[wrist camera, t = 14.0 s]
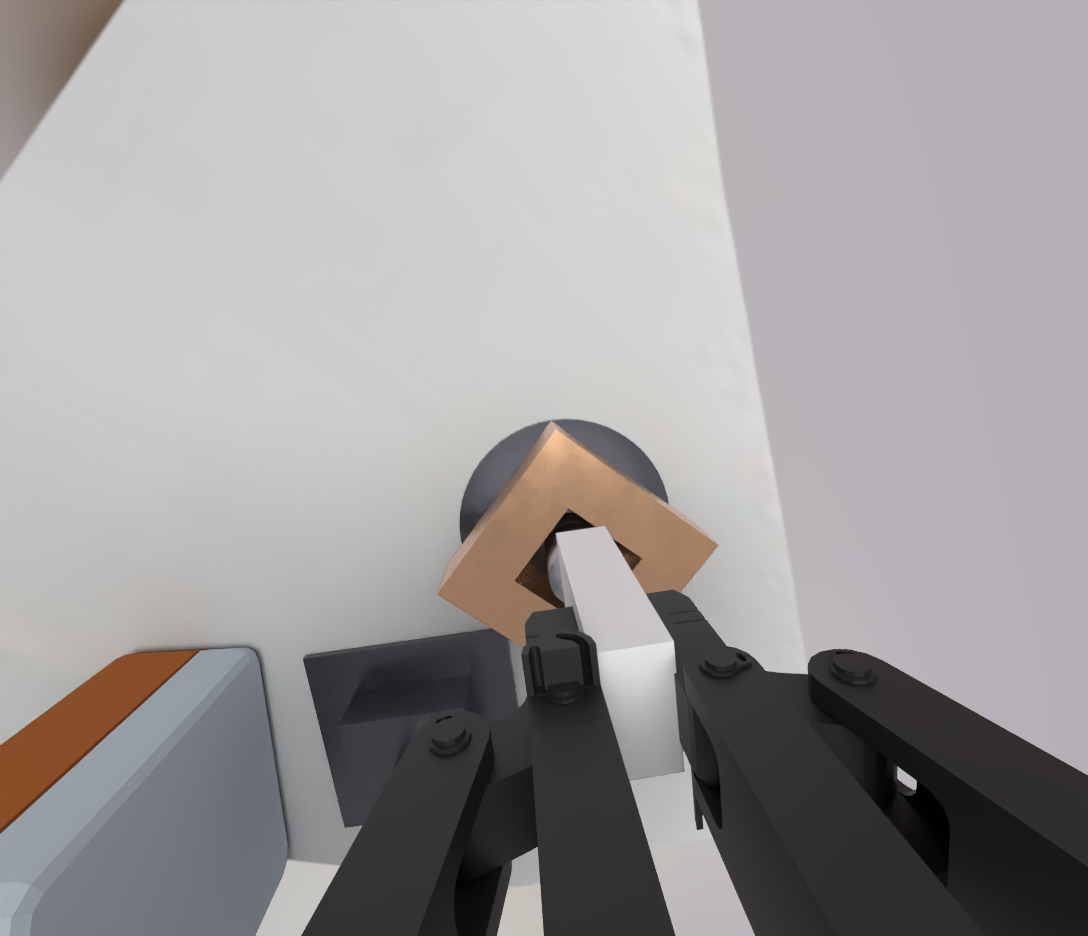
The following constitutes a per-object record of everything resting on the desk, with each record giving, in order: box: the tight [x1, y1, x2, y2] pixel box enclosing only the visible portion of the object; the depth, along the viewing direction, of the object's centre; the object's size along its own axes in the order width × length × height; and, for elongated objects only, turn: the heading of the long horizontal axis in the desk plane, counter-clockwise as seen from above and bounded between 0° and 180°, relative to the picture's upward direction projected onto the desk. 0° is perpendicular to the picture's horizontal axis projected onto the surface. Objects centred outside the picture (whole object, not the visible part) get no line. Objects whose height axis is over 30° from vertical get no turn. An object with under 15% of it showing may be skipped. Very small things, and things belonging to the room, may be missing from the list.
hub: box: [460, 419, 668, 603], centre depth 31 cm, size 14×14×9 cm
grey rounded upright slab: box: [0, 647, 288, 936], centre depth 27 cm, size 18×9×21 cm, turn 2°
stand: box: [303, 629, 519, 828], centre depth 33 cm, size 14×14×8 cm
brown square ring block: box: [437, 421, 718, 648], centre depth 30 cm, size 11×11×4 cm
